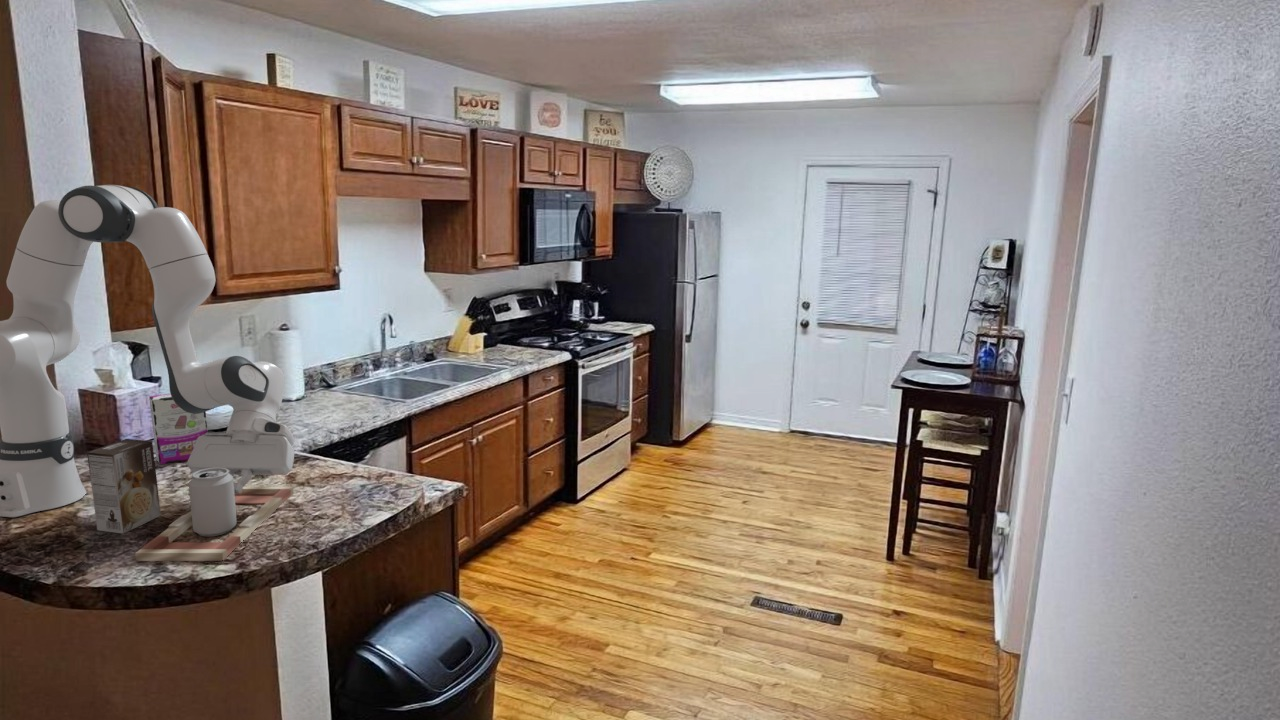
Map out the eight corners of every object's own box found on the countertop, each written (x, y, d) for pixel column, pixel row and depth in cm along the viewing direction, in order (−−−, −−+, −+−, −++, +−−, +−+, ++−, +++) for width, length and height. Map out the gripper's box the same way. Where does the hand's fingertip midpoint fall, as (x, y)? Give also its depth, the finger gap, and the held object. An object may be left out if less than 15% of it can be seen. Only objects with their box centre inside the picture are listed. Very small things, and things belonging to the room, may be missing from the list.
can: (200, 523, 152) (195, 466, 150) (241, 521, 154) (237, 464, 152) (187, 539, 145) (181, 479, 143) (230, 536, 147) (225, 477, 144)
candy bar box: (205, 451, 196) (200, 388, 192) (210, 456, 192) (205, 392, 189) (154, 459, 188) (148, 395, 185) (158, 465, 185) (152, 399, 181)
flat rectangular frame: (136, 560, 136) (134, 550, 136) (223, 492, 168) (222, 484, 168) (223, 560, 137) (222, 550, 137) (293, 493, 169) (293, 484, 169)
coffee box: (135, 513, 157) (126, 437, 153) (162, 516, 155) (154, 440, 152) (95, 531, 148) (85, 451, 145) (123, 534, 147) (114, 454, 143)
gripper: (193, 424, 161) (172, 485, 153) (293, 426, 162) (277, 486, 154) (205, 438, 166) (186, 498, 158) (302, 439, 167) (287, 498, 160)
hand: (232, 492), depth 156 cm, fingers closed
